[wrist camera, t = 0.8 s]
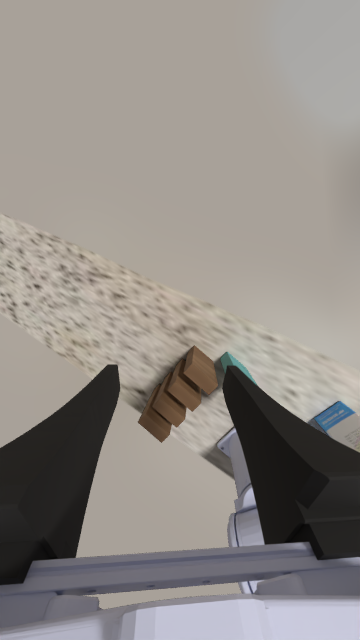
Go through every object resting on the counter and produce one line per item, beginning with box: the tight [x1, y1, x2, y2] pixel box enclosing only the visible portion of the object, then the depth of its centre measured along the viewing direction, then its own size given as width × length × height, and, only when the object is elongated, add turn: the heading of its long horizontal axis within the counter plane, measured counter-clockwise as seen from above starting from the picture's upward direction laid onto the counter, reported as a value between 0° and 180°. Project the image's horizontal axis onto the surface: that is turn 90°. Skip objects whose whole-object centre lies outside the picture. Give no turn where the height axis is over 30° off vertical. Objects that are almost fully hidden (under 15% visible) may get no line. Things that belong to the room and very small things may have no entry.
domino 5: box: [220, 352, 257, 385], centre depth 24 cm, size 2×4×8 cm, turn 49°
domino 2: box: [152, 372, 186, 427], centre depth 26 cm, size 2×4×8 cm, turn 49°
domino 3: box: [168, 359, 201, 412], centre depth 25 cm, size 2×4×8 cm, turn 50°
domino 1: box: [138, 384, 172, 443], centre depth 26 cm, size 2×4×8 cm, turn 49°
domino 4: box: [184, 345, 218, 395], centre depth 25 cm, size 2×4×8 cm, turn 49°
